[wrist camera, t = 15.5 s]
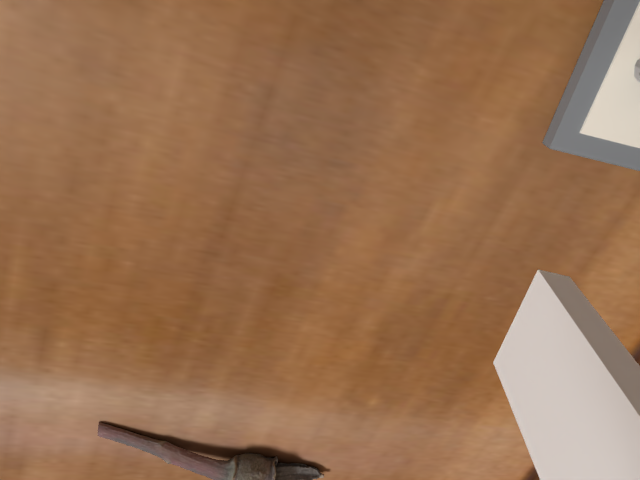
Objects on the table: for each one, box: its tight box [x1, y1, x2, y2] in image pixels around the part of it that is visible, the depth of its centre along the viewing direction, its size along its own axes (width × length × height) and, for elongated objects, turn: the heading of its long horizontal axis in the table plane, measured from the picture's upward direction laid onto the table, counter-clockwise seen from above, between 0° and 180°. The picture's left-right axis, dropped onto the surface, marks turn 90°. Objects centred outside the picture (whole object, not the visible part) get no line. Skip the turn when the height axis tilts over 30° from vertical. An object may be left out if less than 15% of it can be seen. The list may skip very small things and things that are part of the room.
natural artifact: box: [98, 422, 324, 480], centre depth 50 cm, size 4×23×4 cm, turn 69°
